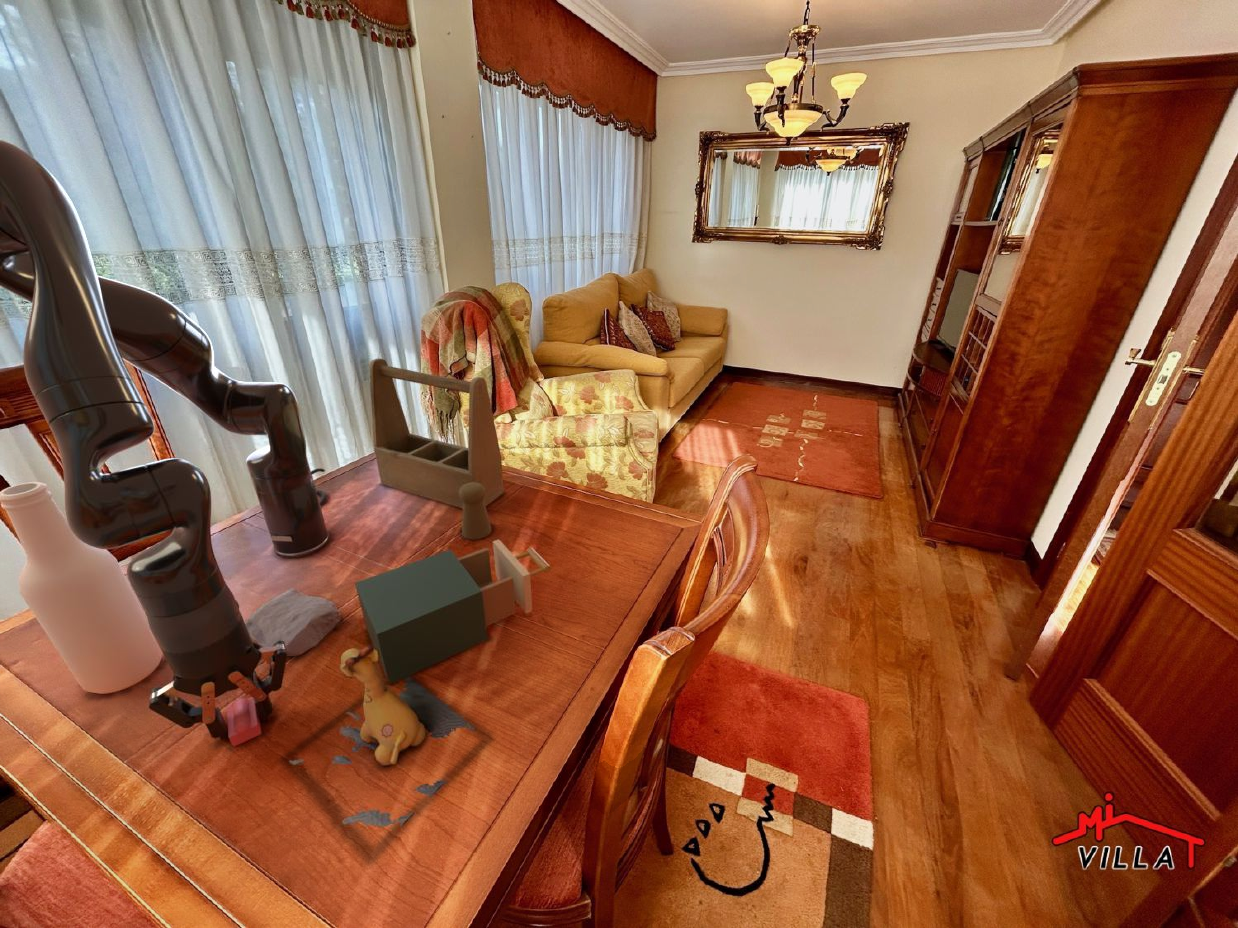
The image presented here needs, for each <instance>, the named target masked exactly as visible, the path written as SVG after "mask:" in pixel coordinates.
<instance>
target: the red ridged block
mask: <svg viewBox="0 0 1238 928" xmlns="http://www.w3.org/2000/svg"><path fill="white" fill-rule="evenodd" d="M226 718H227V727H228V739H229V741H230V744H231V745H232V747H237V746H239V745H241V744H243V743H245V742H248V741H249V740H252V739H254V738H256V737H258V736H261V735H262V725H261V717H260V715H259V713H258V711H257V708H256V706H255V702H254V698H252V697H251V696H250V697H249V698H246V697H239V698H237V699H235V700H234V702H233V703H232V705H230V706H227V707H226Z"/></svg>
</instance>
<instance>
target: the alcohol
mask: <svg viewBox="0 0 1238 928" xmlns="http://www.w3.org/2000/svg"><path fill="white" fill-rule="evenodd" d="M52 496H53V495H52V492H51V491H49V490H48V485H47V484H46V483H44V482H39V481H29V482H23V483H18V484H14V485H11V486H8V487H6V488H4V489H2V490H1V491H0V506H1V508H2V509H3V510H5V511H6V514H7V516H8V518H9V521H10V522H11V525H12V527H13V529H14V531H15V534H16V535H17V538H18V540H19V543H20V544H21V546H22V549H23V551H24V553H25V555H26V563H25V564H24V566H23V568H22V570H21V571H20V574H19V575H18V578H17V583H18V588H19V593H20V596H21V597H22V598H23V599H24V602H25V603H26V605H27V606H28V608H29V609H30V611H31V612H32V614H33V615H34V617H35V619H36V620H37V621H38V623H39V625H40V626H41V628H42V629H43V631H44V632H45V634H46V635H47V638H49V640H50V641H51V643H52V645H53V646H54V648H55V649H56V652H58V654H59V655H60V657H61V659H62V660H63V662H64V663H65V665H66V666H67V668H68V669H69V671H70V672H71V674H72V676H73V677H74V679H75V680H76V682H77V683H78V685H79V686H80V688H81V689H82V690H83V691H86V692H89V693H94V694H98V695H102V694H103V695H104V694H113V693H117V692H121V691H123V690H125V689H128V688H130V687H132V686H134V685H136V684H138V683H140V682H141V681H143V680H145V679H146V678H147V677H148V676H150V675H151V674H152V673H153V672H154V671H156V669H157V668H158V666H159V665H160V663H161V660H162V658H163V656H164V655H163V653H162V651H161V649H160V647H159V645H158V643H157V641H156V639H155V637H154V635H153V634H152V632H151V629H150V627H149V623H148V619H147V615H146V613H145V611H144V609H143V607H142V605H141V603H140V601H139V599H138V597H137V595H136V594H135V591H134V590H133V588H132V586H131V584H130V582H129V580H128V578H127V577H126V575H125V573H124V571H123V569H122V567H121V565H120V564H119V563H120V562H118V559H117V558H116V557H115V556H114V555H113V554H112V553H111V552H110V551H109V550H108V549H98V548H95V547H92V546H89V545H87V544H86V543H84V542H82V541H81V540H79V539H78V538H77V537H76V536H75V535H74V533H73V532H72V531H71V529H70V527H69V525H68V522H67V517H66V515H64V513H63V512H62V511H61V509H60V507H59V506H58V505H57V503H56V502H55V500H54V499H53V497H52Z"/></svg>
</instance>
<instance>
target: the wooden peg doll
mask: <svg viewBox="0 0 1238 928" xmlns="http://www.w3.org/2000/svg"><path fill="white" fill-rule="evenodd" d="M459 497H460V499H461V501H462V502H463V509H462V513H461V515H462V516H461V517H462V518H461V522H462V523H461V535H462V537H463V538H465V539H469V540H481V539H484V538H486V537H487V536H489V535H490V534H491V532H492V526H491V523H490V518H489V515H488V511H487V506H486V507H485V503H484V498H485V488H484V487H483V485H482V484H480V483H476V482H471V483H467V484H464V485H463V486H462V487H461V488H460V490H459Z"/></svg>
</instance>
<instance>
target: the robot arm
mask: <svg viewBox="0 0 1238 928" xmlns="http://www.w3.org/2000/svg"><path fill="white" fill-rule="evenodd" d="M0 287H1V288H3V289H4V290H6V291H8V292H10V293H13V294H14V295H16V296H18V297H20V298H22V299H24V300H26V301H28V302H30V303H31V309H30V313H29V319H28V323H27V327H26V332H25V338H24V343H23V352H22V353H23V355H22V357H23V370H24V374H25V378H26V382H27V385H28V387H29V389H30V391H31V394H32V395H33V397H34V399H35V401H36V403H37V406H38V408H39V409H40V411H41V413H42V415H43V417H44V418H45V421H46V423H47V425H48V426H49V429H50V431H51V434H52V436H53V438H54V440H55V442H56V445H57V448H58V451H59V454H60V455H59V456H60V458H61V459H60V460H61V465H62V471H63V483H64V484H63V485H64V488H63V489H64V510H65V518H66V519H67V522H68V525H69V527H70V529H71V531H72V532H73V533H74V535H75V536H76V537H77V538H78V539H79V540H81V541H82V542H84V543H86V544H87V545H89V546H92V547H95V548H98V549H106V550H113V549H117V548H121V547H125V546H128V545H131V544H133V543H137V542H140V541H142V540H145V539H148V538H152V537H154V536H158V535H161V534H165V533H167V532H169V531H172V532H171V533H170V534H169V535H168V536H167V537H165V538H164V539H162V540H160V541H159V542H158V543H155V544H153V545H152V546H150V547H148V548H147V549H145V550H143V551H142V552H140V553H139V554H137V555H136V556H135V557H134V558H132V560H131V561H130V562H129V564H128V566H127V568H126V575H127V580H128V582H129V584H130V586H131V588H132V590H133V592H134V594H135V596H136V598H137V600H138V602H139V604H140V606H141V608H142V610H143V611H144V613H145V615H146V617H147V619H148V623H149V627H150V629H151V632H152V634H153V635H154V637H155V639H156V641H157V643H158V645H159V647H160V649H161V651H162V653H163V655H162V656H164V658H165V660H166V662H167V664H168V666H169V668H170V670H171V672H172V674H173V678H172V681H171V682H169V683H168V684H166V685H165V686H161V685H160V686H155V687H152V688H151V689H150V691H149V702H148V709H149V710H151V711H152V712H154V713H156V714H158V715H159V716H161V717H163V718H165V719H166V720H168V721H170V722H172V723H174V724H176V725H177V726H179V727H181V728H182V729H189V728H193V726H195V724H199V723H202V724H204V725H205V726H206V729H207V730H208V732H209V734H210V736H211V738H213V739H218V738H219V739H220V741H224V740H226V739H229V735H228V723H227V722H226V719H225V718H224V715H223V713H222V712H221V709H220V708H219V706H216V698H218V697H220V696H223V695H225V694H226V693H228V692H230V691H235V690H238V689H240V690H241V691H242V692H243V693H244V694H245V695H249V696H250V698H251V697H252V698H254V702H255V706H256V708H257V711H258V713H259V718H260V721H261V722H262V723H263V722H266V721H269V719H270V717H269V715H272V714H273V711H274V708H273V703H272V700H271V697H270V695H269V694H270V693H272V692H277V691H280V690H281V689H282V688H283V681H284V675H285V670H286V664H287V659H288V656H287V652H286V647H285V643H284V641H277V642H275V643H274V645H273V646H270V647H261V645H259V644H258V643H255V642H254V640H253V639H252V638H251V637H250V635H249V632H248V630H247V627H246V625H245V624H246V621H245V620H244V617H243V615H242V612H241V610H240V605H239V602H238V600H237V599H236V597H235V596H234V593H233V592H232V590H231V589H230V587H229V586H228V585H227V583H226V581H225V578H224V576H223V574H222V571H221V568H220V567H219V564H218V561H217V558H216V555H215V552H214V549H213V544H212V543H213V542H212V533H211V532H212V531H211V529H212V527H211V526H212V525H211V523H212V521H211V520H212V491H211V486H210V483H209V480H208V478H207V476H206V474H205V473H204V472H203V471H202V469H201V468H200V467H198V465H197V466H196V465H195V464H194V463H192V462H190V461H188V460H186V459H183V458H174V457H173V458H165V459H161V460H157V461H153V462H149V463H146V464H145V465H144V464H141V465H137V466H133V467H129V468H125V469H122V470H117V471H114V472H110V473H102V470H103V467H104V465H105V464H106V463H107V461H108V460H109V459H110V458H112V457H114V456H116V455H117V454H120V453H122V452H124V451H126V450H129V449H131V448H133V447H135V446H138V445H140V444H142V443H144V442H146V441H148V440H149V439H150V438H151V437H152V436H153V435H154V433H155V424H154V421H153V418H152V416H151V414H150V411H149V410H148V407H147V406H146V404H145V402H144V399H143V397H142V396H141V394H140V391H139V390H138V388H137V385H136V383H135V381H134V380H133V378H132V375H131V374H130V372H129V370H128V368H127V366H126V363H125V361H126V362H127V363H129V364H131V365H132V366H133V367H135V368H136V369H138V370H139V371H141V372H143V373H145V374H146V375H148V376H150V377H153V378H154V379H155V380H157V381H159V382H160V383H161V384H163V385H165V386H166V387H168V388H169V389H170V390H172V391H174V392H175V393H176V394H178V395H180V396H181V397H183V398H184V399H186V400H187V401H189V402H190V403H191V404H192V405H194V406H196V407H197V408H198V409H199V410H200V411H201V412H203V414H205V415H206V416H207V417H208V418H210V419H211V420H212V421H213V422H214V423H216V424H217V425H218V426H220V427H221V428H223V429H224V430H225V431H228V433H232V434H234V435H238V436H239V435H240V436H267V440H268V445H267V446H264V447H262V448H259V449H257V450H255V451H254V452H252V453H250V454H249V455H248V456H247V458H246V460H245V464H246V468H247V471H248V475H249V477H250V480H251V483H252V486H253V489H254V491H255V494H256V498H257V501H258V503H259V506H260V509H261V512H262V515H263V518H264V521H265V524H266V527H267V531H268V532H269V535H270V539H271V542H272V544H273V550H274V553H275V554H276V556H278V557H281V558H286V559H295V558H300V557H302V558H303V557H305V556H308V555H311V554H314V553H316V552H319V550H321V549H323V548H324V547H325V546H327V545H328V543H329V541H330V533H329V531H328V529H327V524H326V521H325V518H324V517H325V516H324V514H323V510H322V507H323V505H324V503H325V502H326V500H327V493H325V492H324V491H322V490H319V489H316V485H315V480H314V478H313V475H314V474H316V473H319V472H321V473H324V472H326V470H325V469H324V468H322V467H321V468H319V467H318V468H315V469H312V470H311V467H310V463H309V460H308V457H307V441H306V440H307V439H306V435H305V431H304V426H303V421H302V416H301V411H300V407H299V403H298V400H297V397H296V395H295V393H294V391H293V390H292V389H291V387H290V386H288V385H287V384H285V383H282V382H273V381H272V382H271V381H270V382H268V381H266V382H262V381H257V382H256V381H239V380H236V379H234V378H232V377H231V376H228V375H227V374H225V373H223V372H222V371H220V370H219V368H217V367H216V366H215V353H214V347H213V345H212V344H213V343H212V341H211V339H210V338H209V335H208V334H207V332H205V330H204V329H203V328H202V327H201V326H199V324H197V323H196V322H195V321H194V320H192V319H191V317H189V316H188V315H187V314H185V313H184V312H183V311H182V310H181V309H179V308H178V307H177V306H176V305H174V304H173V303H172V302H170V301H169V300H168V299H166V298H165V297H162V296H161V295H158V294H157V293H154V292H152V291H149V290H147V289H143V288H141V287H138V286H135V285H131V284H129V283H125V282H121V281H118V280H115V279H112V278H108V277H104V276H101V275H98V274H97V270H96V267H95V264H94V260H93V257H92V253H91V250H90V246H89V242H88V239H87V236H86V232H85V230H84V227H83V224H82V222H81V218H80V216H79V214H78V212H77V210H76V208H75V206H74V203H73V201H72V200H71V199H70V196H69V195H68V193H67V192H66V190H65V189H64V188H63V186H62V185H61V184H60V182H59V181H58V179H56V178H55V176H54V175H53V174H52V173H51V172H50V171H49V170H48V168H46V167H45V166H44V165H43V164H42V163H40V162H39V160H37V159H36V158H35V157H33V156H32V155H31V154H29V153H28V152H26V151H25V150H24V149H22V148H20V147H18V146H17V145H16V144H12V143H11V142H8V141H5V140H2V139H0ZM319 495H321V500H319ZM262 659H264V660H265V662H266V664H268V665H269V670H268V676H267V677H266V678H264V679H262V678H261V677H260V676H259V675H258V674H257V671H256V668H257V667H258V665H259V664H260V661H261V660H262ZM179 692H181V693H184V694H188V695H192V696H196V697H200V698H201V705H200V706H195V705H193V704H192V703H190V702H188V701H187V700H186V699H183V698H181V697H180V696H179Z"/></svg>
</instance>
